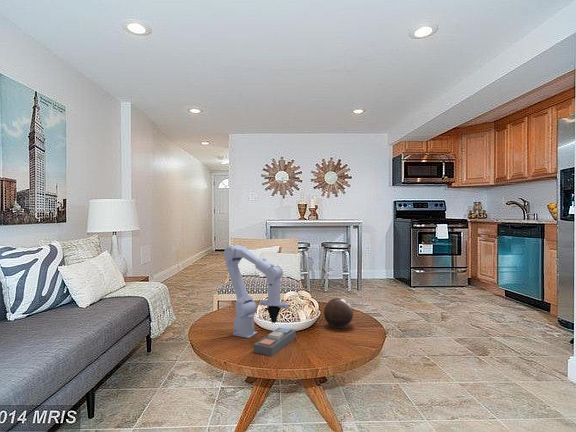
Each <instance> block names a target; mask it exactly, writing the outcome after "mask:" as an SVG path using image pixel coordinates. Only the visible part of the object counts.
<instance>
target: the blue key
mask: <svg viewBox="0 0 576 432" xmlns="http://www.w3.org/2000/svg"><path fill="white" fill-rule="evenodd" d="M280 328H281V329H279V330H278V331H277V332H282V333H283V334H288V333H289V332H291V330H292V329H290V328H285V327H280Z"/></svg>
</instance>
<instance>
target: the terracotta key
mask: <svg viewBox="0 0 576 432" xmlns="http://www.w3.org/2000/svg"><path fill="white" fill-rule="evenodd" d="M274 343H275V340H269V339H264V340H262V341H261V342H259V344H260V345H265V346H271V345H273V344H274Z"/></svg>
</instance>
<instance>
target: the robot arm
mask: <svg viewBox="0 0 576 432" xmlns="http://www.w3.org/2000/svg"><path fill="white" fill-rule="evenodd" d="M223 257H224V260H225V266H226V269H227V271H228V272H227V273H228V276H229V278H230V282H231V284H232V288H233V291H234V293H235V296H236V298H237V299H236V301H235V303H234V306H235V314H236V315H235V317H234V319H233V333H232V336H237V337H240V338H241V337H242V338H247V339H248V338H249V339H250V338H252V337H253V336H255V335H256V334H258V331H255V314H256V313H257V311H258V305H257V303H256V302H255V301H254V299H253V297H252V296H251V295H249V294H248V291H247V288H246V285H245V282H244V280H243V277H242V273H241V271H240V267H239V264H240V262H241V260H242V259H245V260H247V261H248V262H250V263H252V264H253V265H255V269H256V270H258V271H259V272H261V273H262V274H263V275H265V277H266V281H267V300H266V299H265V300H264V299H261V300H259V306H267V307H266V310H267V312H268V314H269V316H270V321H271V323H272V324H275V323H277V319H278V316H279V314H280V311H281V309H285V310H287V309H290V303H286V302H282V301H281V278H282V277H283V275H284V272H283V269H282V268H281V266H279V265H275V264H273V263H271V262H270V261H268V260H267V259H266V258H265V257H261V258H259V256H256V255H255V254H254V253H253V252H251V251H250V250H249V249H248V247H246V246H244V245H243V244H238V245H237V244H236V245H228V246H226V247H225V249H224V251H223Z"/></svg>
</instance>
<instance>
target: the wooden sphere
mask: <svg viewBox="0 0 576 432" xmlns="http://www.w3.org/2000/svg"><path fill="white" fill-rule="evenodd" d="M323 316H324V319H325V321H326V322H327V324H328V325H329V326H331V327H333V328H335V329H344V328H345V327H347V326H348V325H350V324H351V322H352V321H353V317H354V311H353V307H352V305H351V304H350V302H349V301H347V300H346V299H344V298H340V297H335V298H332V299H331V300H329V301H328V302H326V304H325V306H324V309H323Z"/></svg>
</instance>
